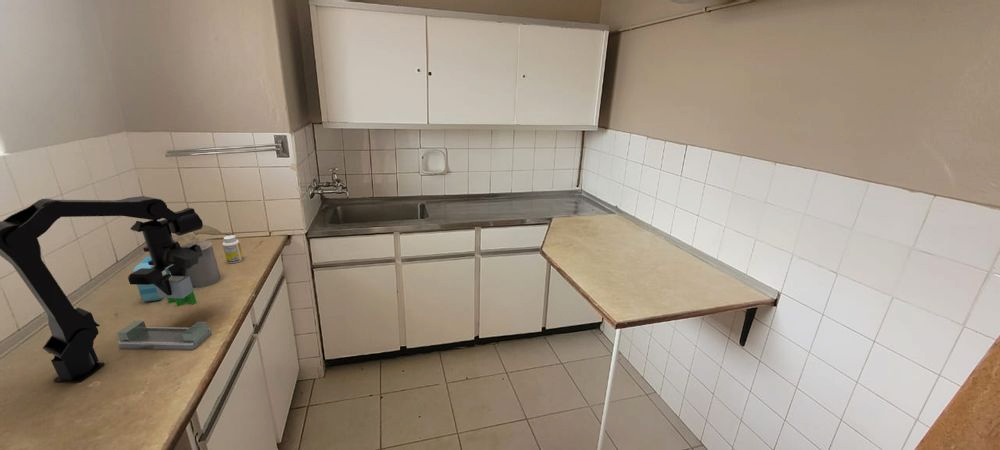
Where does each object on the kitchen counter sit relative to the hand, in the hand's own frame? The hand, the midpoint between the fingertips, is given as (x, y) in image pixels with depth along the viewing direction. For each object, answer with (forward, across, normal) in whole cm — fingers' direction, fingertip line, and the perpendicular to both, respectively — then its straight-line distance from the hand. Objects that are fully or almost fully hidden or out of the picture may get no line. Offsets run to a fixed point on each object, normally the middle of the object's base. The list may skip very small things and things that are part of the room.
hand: (175, 291), depth 114 cm
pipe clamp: (+11, +11, +10) cm, 19 cm away
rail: (+10, -9, -2) cm, 14 cm away
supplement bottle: (+11, +42, +12) cm, 45 cm away
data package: (+11, +16, +21) cm, 29 cm away
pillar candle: (+11, +25, +12) cm, 30 cm away
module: (+1, 0, 0) cm, 1 cm away
